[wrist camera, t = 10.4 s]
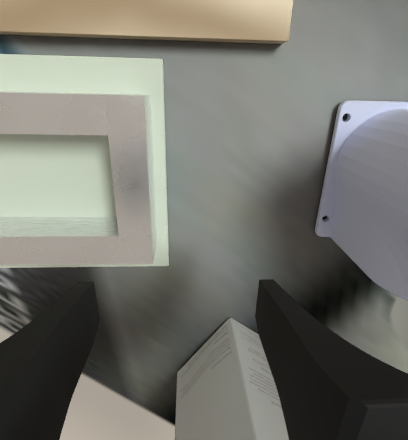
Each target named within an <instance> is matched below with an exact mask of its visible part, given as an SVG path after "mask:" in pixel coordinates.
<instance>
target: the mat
mask: <svg viewBox="0 0 408 440" xmlns="http://www.w3.org/2000/svg"><path fill="white" fill-rule="evenodd" d="M0 91H20V92H63V93H106V94H149V95H150V98H151V119H152V141H153V163H154V184H155V206H156V228H157V245H156V251H155V256H154V261H153V264H77V265H0V268H23V267H116V266H169V246H168V212H167V178H166V144H165V110H164V76H163V59H148V58H115V57H81V56H47V55H14V54H0ZM0 217H117V216H116V207H115V197H114V187H113V178H112V168H111V159H110V149H109V139H108V135H44V134H0Z"/></svg>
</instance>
